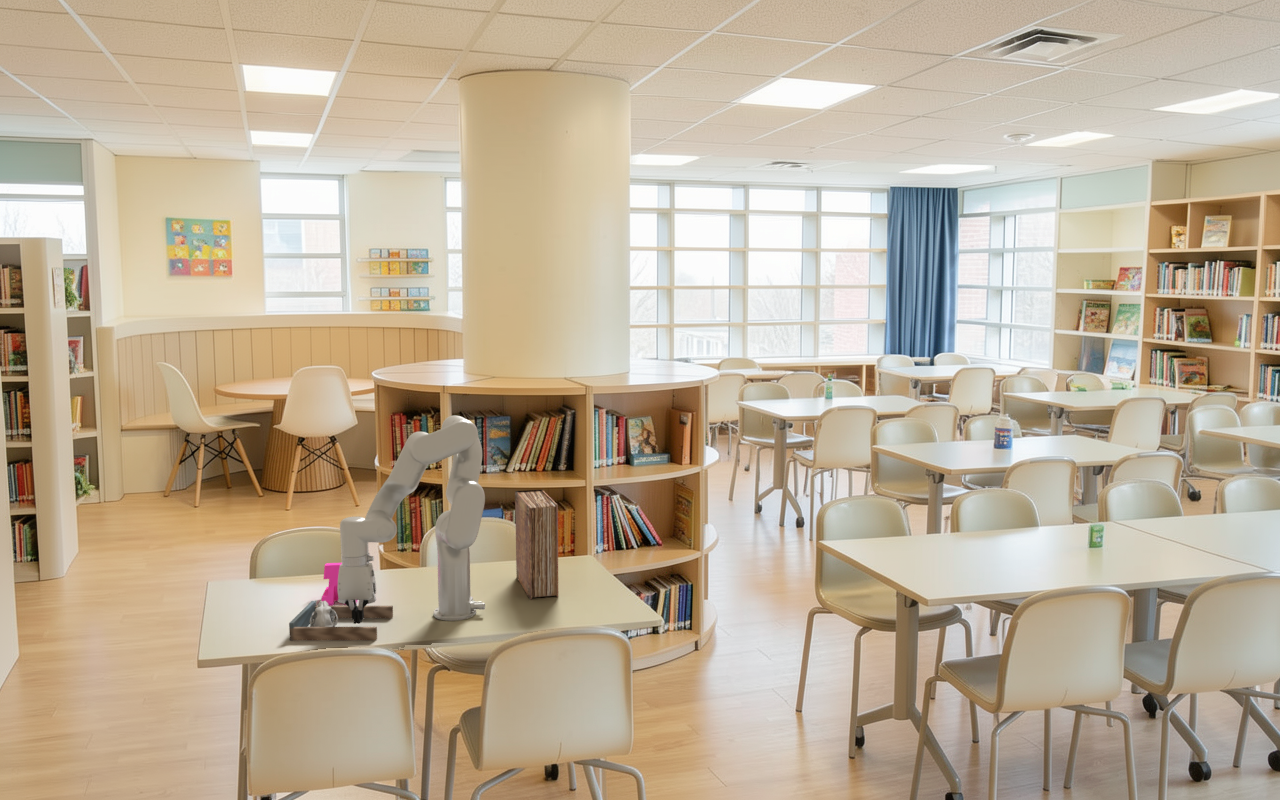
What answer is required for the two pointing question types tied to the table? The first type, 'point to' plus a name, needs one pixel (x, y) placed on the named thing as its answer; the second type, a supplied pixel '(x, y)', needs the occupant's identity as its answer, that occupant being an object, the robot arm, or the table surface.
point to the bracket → (331, 583)
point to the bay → (303, 632)
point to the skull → (323, 616)
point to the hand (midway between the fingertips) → (358, 622)
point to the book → (536, 543)
